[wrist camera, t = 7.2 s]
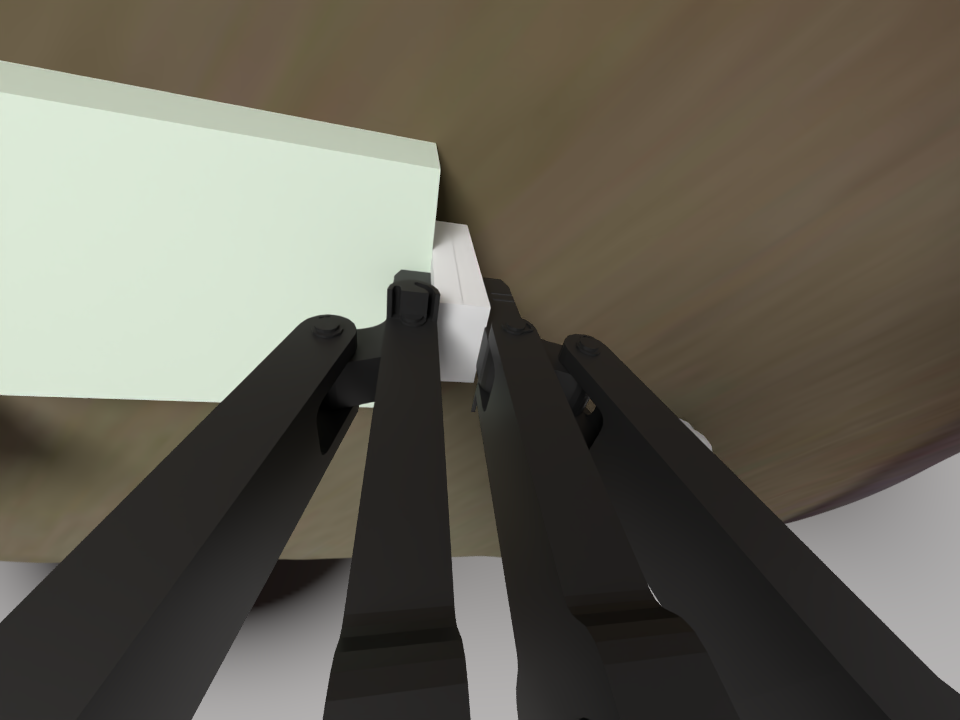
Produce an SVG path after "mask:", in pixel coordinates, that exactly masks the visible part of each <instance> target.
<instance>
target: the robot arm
mask: <svg viewBox="0 0 960 720" xmlns="http://www.w3.org/2000/svg"><path fill="white" fill-rule="evenodd" d="M476 370H477V375H478V383H477V387H476V392H475V396H474V400H473V404H472V410H471V412H475V409H476V406H477V407H478V413H479V419H480V426H481V432H482V438H483V444H484V451H485V457H486V463H487V469H488V476H489V482H490V488H491V494H492V501H493V507H494V513H495V519H496V526H497V532H498V538H499V544H500V551H501V557H502V563H503V569H504V575H505V582H506V588H507V594H508V601H509V607H510V612H511V619H512V625H513V632H514V638H515V644H516V651H517V659H518V675H517V686H516V695H517V696H516V699H517V711H518V720H960V694H959V693H958V692H956V691H955V690H954V689H953V688H951V687H950V686H949V685H947V684H946V683H945V682H943V681H942V680H941V679H940V678H938V677H937V676H936V675H935V674H934V673H933V672H932V671H931V670H930V669H929V668H928V667H927V666H926V665H925V664H924V663H923V662H922V661H921V660H920V659H919V658H918V657H917V656H916V655H915V654H914V653H913V652H912V651H911V650H910V649H909V648H908V647H907V646H906V645H905V644H904V643H903V642H902V641H901V640H900V639H899V638H898V637H897V636H896V635H895V634H894V633H893V632H892V631H891V630H890V629H889V628H888V627H887V626H886V625H885V624H884V623H883V622H882V621H881V620H880V619H879V618H878V617H877V616H876V615H875V614H874V613H873V612H872V611H871V610H870V609H869V608H868V607H867V606H866V605H865V604H864V603H863V602H862V601H861V600H860V599H859V598H858V597H857V596H856V595H855V594H854V593H853V592H852V591H851V590H850V589H849V588H848V587H847V586H846V585H845V584H844V583H843V582H842V581H841V580H840V579H839V578H838V577H837V576H836V575H835V574H834V573H833V572H832V571H831V570H830V569H829V568H828V567H827V566H826V565H825V564H824V563H823V562H822V561H821V560H820V559H819V558H818V557H817V556H816V555H815V554H814V553H813V552H812V551H811V550H810V549H809V548H808V547H807V546H806V545H805V544H804V543H803V542H802V541H801V540H800V539H799V538H798V537H797V536H796V535H795V534H794V533H793V532H792V531H791V530H790V529H789V528H788V527H787V526H786V525H785V524H784V523H783V522H782V521H781V520H780V519H779V518H778V517H777V516H776V515H775V514H774V513H773V512H772V511H771V510H770V509H769V508H768V507H767V506H766V505H765V504H764V503H763V502H762V501H761V500H760V499H759V498H758V497H757V496H756V495H755V494H754V493H753V492H752V491H751V490H750V489H749V488H748V487H747V486H746V485H745V484H744V483H743V482H742V481H741V480H740V479H739V478H738V477H737V476H736V475H735V474H734V473H733V472H732V471H731V470H730V469H729V468H728V467H727V466H726V465H725V464H724V463H723V462H722V461H721V460H720V459H719V458H718V457H717V456H716V455H715V454H714V453H713V452H712V451H711V450H710V449H709V448H708V447H707V446H706V445H705V444H704V443H703V442H702V441H701V440H700V439H699V438H698V437H697V436H696V435H695V434H694V433H693V432H692V431H691V430H690V429H689V428H688V427H687V426H686V425H685V424H684V423H683V422H682V421H681V420H680V419H679V418H678V417H677V416H676V415H675V414H674V413H673V412H672V411H671V410H670V409H669V408H668V407H667V406H666V405H665V404H664V403H663V402H662V401H661V400H660V399H659V398H658V397H657V396H656V395H655V394H654V393H653V392H652V391H651V390H650V389H649V388H648V387H647V386H646V385H645V384H644V383H643V382H642V381H641V380H640V379H639V378H638V377H637V376H636V375H635V374H634V373H633V372H632V371H631V370H630V369H629V368H628V367H627V366H626V365H625V364H624V363H623V362H622V361H621V360H620V359H619V358H618V357H617V356H616V355H615V354H614V353H613V352H612V351H611V350H610V349H609V348H608V347H607V346H606V345H604V344H603V343H602V342H600V341H599V340H597V339H595V338H593V337H591V336H587V335H581V334H573V335H569V336H568V337H567V338H566V339H565V340H564V343H563V345H559V344H555V343H552V342H548V341H545V340H542V339H540V336H539V334H538V332H537V330H536V328H535V327H534V326H533V325H532V324H531V323H529V322H528V321H527V320H524V319H522V318H521V317H520V314H519V312H518V309H517V307H516V304H515V302H514V299H513V297H512V294H511V292H510V289H509V287H508V286H507V285H506V284H505V283H504V282H503V281H501V280H499V279H491V278H482V275H481V272H480V268H479V265H478V261H477V258H476V254H475V251H474V247H473V244H472V240H471V237H470V233H469V230H468V226H467V225H463V224H456V223H449V222H442V221H435V229H434V239H433V249H432V259H431V269H430V273H428V272H420V271H411V270H402V269H401V270H400V271H399V272H398V273H397V274H395V275H394V281H393V283H392V284H390V285H389V287H388V288H387V316H386V320H385V321H384V322H382V323H381V324H379V325H376V326H373V327H369V328H362V329H356V326H355V324H354V323H353V322H352V321H351V320H349V319H348V318H345V317H342V316H339V315H331V314H325V315H317V316H314V317H311V318H307V319H306V320H304V321H303V322H301V323H300V324H299V325H298V326H297V327H296V328H295V329H294V330H293V331H292V332H291V333H290V334H289V335H288V336H287V337H286V338H285V339H284V340H283V341H282V342H281V343H280V344H279V345H278V346H277V347H276V348H275V349H274V350H273V351H272V352H271V353H270V354H269V355H268V356H267V357H266V358H265V359H264V360H263V361H262V362H261V363H260V364H259V365H258V366H257V367H256V368H255V369H254V370H253V371H252V372H251V373H250V374H249V375H248V376H247V377H246V378H245V379H244V380H243V381H242V382H241V383H240V384H239V385H238V386H237V387H236V388H235V389H234V390H233V391H232V392H231V393H230V394H229V395H228V396H227V397H226V398H225V399H224V400H223V401H222V402H221V403H220V404H219V405H218V406H217V407H216V408H215V409H214V410H213V411H212V412H211V413H210V414H209V415H208V416H207V417H206V418H205V419H204V420H203V421H202V422H201V423H200V424H199V425H198V426H197V427H196V428H195V429H194V430H193V431H192V432H191V433H190V434H189V435H188V436H187V437H186V438H185V439H184V440H183V441H182V442H181V443H180V444H179V445H178V446H177V447H176V448H175V449H174V450H173V451H172V452H171V453H170V454H169V455H168V456H167V457H166V458H165V459H164V460H163V461H162V462H161V463H160V464H159V465H158V466H157V467H156V468H155V469H154V470H153V471H152V472H151V473H150V474H149V475H148V476H147V477H146V478H145V479H144V480H143V481H142V482H141V483H140V484H139V485H138V486H137V487H136V488H135V489H134V490H133V491H132V492H131V493H130V494H129V495H128V496H127V497H126V498H125V499H124V500H123V501H122V502H121V503H120V504H119V505H118V506H117V507H116V508H115V509H114V510H113V511H112V512H111V513H110V514H109V515H108V516H107V517H106V518H105V519H104V520H103V521H102V522H101V523H100V524H99V525H98V526H97V527H96V528H95V529H94V530H93V531H92V532H91V533H90V534H89V535H88V536H87V537H86V538H85V539H84V540H83V541H82V542H81V543H80V544H79V545H78V546H77V547H76V548H75V549H74V550H73V551H72V552H71V553H70V554H69V555H68V556H67V557H66V558H65V559H64V560H63V561H62V562H61V563H60V564H59V565H58V566H57V567H56V568H55V569H54V570H53V571H52V572H51V573H50V574H49V575H48V576H47V577H46V578H45V579H44V580H43V581H42V582H41V583H40V584H39V585H38V586H37V587H36V588H35V589H34V590H33V591H32V592H31V593H30V594H29V595H28V596H27V597H26V598H25V599H24V600H23V601H22V602H21V603H20V604H19V605H18V606H17V607H16V608H15V609H14V610H13V611H12V612H11V613H10V614H9V615H8V616H7V617H6V618H5V619H4V620H3V621H2V622H1V623H0V720H191V719H192V718H193V716H194V714H195V712H196V710H197V708H198V706H199V705H200V703H201V701H202V699H203V697H204V695H205V694H206V692H207V690H208V688H209V686H210V684H211V682H212V680H213V679H214V677H215V675H216V673H217V671H218V669H219V668H220V665H221V664H222V662H223V660H224V658H225V656H226V654H227V653H228V651H229V649H230V647H231V645H232V643H233V641H234V640H235V638H236V636H237V634H238V632H239V630H240V629H241V627H242V625H243V623H244V621H245V619H246V618H247V616H248V614H249V611H250V610H251V608H252V606H253V604H254V603H255V601H256V599H257V597H258V595H259V593H260V592H261V590H262V588H263V586H264V584H265V582H266V580H267V579H268V576H269V575H270V573H271V571H272V569H273V568H274V566H275V564H276V562H277V560H278V558H279V556H280V555H281V553H282V551H283V549H284V547H285V545H286V543H287V542H288V540H289V538H290V536H291V534H292V532H293V531H294V529H295V527H296V525H297V523H298V521H299V519H300V518H301V516H302V514H303V512H304V510H305V508H306V506H307V505H308V503H309V501H310V499H311V497H312V495H313V493H314V492H315V490H316V488H317V486H318V484H319V482H320V480H321V479H322V477H323V475H324V473H325V471H326V469H327V468H328V466H329V464H330V462H331V460H332V458H333V456H334V455H335V453H336V451H337V449H338V447H339V445H340V443H341V442H342V440H343V438H344V436H345V434H346V432H347V430H348V429H349V427H350V425H351V423H352V421H353V419H354V418H355V416H356V414H357V412H358V409H359V405H362V404H367V403H371V402H374V408H373V415H372V422H371V429H370V436H369V443H368V450H367V457H366V464H365V471H364V478H363V485H362V492H361V499H360V506H359V513H358V520H357V527H356V534H355V541H354V548H353V555H352V563H351V569H350V576H349V584H348V590H347V598H346V604H345V611H344V618H343V624H342V630H341V634H340V639H339V642H338V645H337V648H336V651H335V654H334V658H333V663H332V668H331V673H330V678H329V684H328V690H327V696H326V702H325V708H324V715H323V720H470V706H469V694H468V681H467V671H466V661H465V654H464V649H463V643H462V638H461V636H460V633H459V631H458V628H457V625H456V619H455V608H454V592H453V576H452V560H451V543H450V526H449V510H448V493H447V477H446V460H445V444H444V427H443V411H442V394H441V381H450V382H470V383H474V378H475V374H476ZM589 398H590V399H591V400H592V401H593V402H594V404H595V405H596V408H595V409H594V411H593V412H592V413H591V412H590V411H589V410H588V409H587V408H586V407H585V406H586V404H587V402H588V400H589ZM648 585H649V587H650V588H651V590H652V592H653V593H654V595H655V596H656V598H657V599H658V601H659V602H660V604H661V605H660V604H659V603H658V602H657V601H656V600H655V598H654V597H653V595H652V593H651V591H650V589H649V587H648Z"/></svg>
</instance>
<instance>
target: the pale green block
mask: <svg viewBox="0 0 960 720" xmlns="http://www.w3.org/2000/svg"><path fill="white" fill-rule="evenodd" d="M440 171H441V169H440V163H439V158H438V152H437V147H436V143H432V142H426V141H421V140H416V139H411V138H405V137H400V136H395V135H389V134H384V133H379V132H374V131H368V130H363V129H358V128H353V127H347V126H342V125H337V124H332V123H326V122H321V121H316V120H311V119H305V118H300V117H295V116H290V115H284V114H279V113H274V112H269V111H263V110H258V109H253V108H248V107H242V106H237V105H232V104H227V103H221V102H216V101H211V100H206V99H200V98H195V97H190V96H184V95H179V94H174V93H169V92H163V91H158V90H153V89H148V88H142V87H137V86H132V85H127V84H121V83H116V82H111V81H106V80H100V79H95V78H90V77H85V76H79V75H74V74H69V73H64V72H58V71H53V70H48V69H43V68H37V67H32V66H27V65H22V64H16V63H11V62H6V61H1V60H0V395H17V396H47V397H77V398H107V399H137V400H167V401H197V402H222V401H223V400H224V399H225V398H226V397H227V396H228V395H229V394H230V393H231V392H232V391H233V390H234V389H235V388H236V387H237V386H238V385H239V384H240V383H241V382H242V381H243V380H244V379H245V378H246V377H247V376H248V375H249V374H250V373H251V372H252V371H253V370H254V369H255V368H256V367H257V366H258V365H259V364H260V363H261V362H262V361H263V360H264V359H265V358H266V357H267V356H268V355H269V354H270V353H271V352H272V351H273V350H274V349H275V348H276V347H277V346H278V345H279V344H280V343H281V342H282V341H283V340H284V339H285V338H286V337H287V336H288V335H289V334H290V333H291V332H292V331H293V330H294V329H295V328H296V327H297V326H298V325H299V324H300V323H301V322H303V321H304V320H306V319H307V318H311V317H314V316H317V315H325V314H331V315H339V316H342V317H345V318H348V319H349V320H351V321H352V322H353V323H354V324H355V326H356V329H362V328H369V327H373V326H376V325H379V324H381V323H382V322H384V321H385V320H386V316H387V288H388V287H389V285H390V284H392V283H393V281H394V275H395V274H397V273H398V272H399V271H400V270H401V269H402V270H411V271H420V272H428V273H430V269H431V259H432V249H433V239H434V229H435V220H436V210H437V200H438V190H439V180H440ZM359 407H374V402H371V403H367V404H362V405H359Z"/></svg>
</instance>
